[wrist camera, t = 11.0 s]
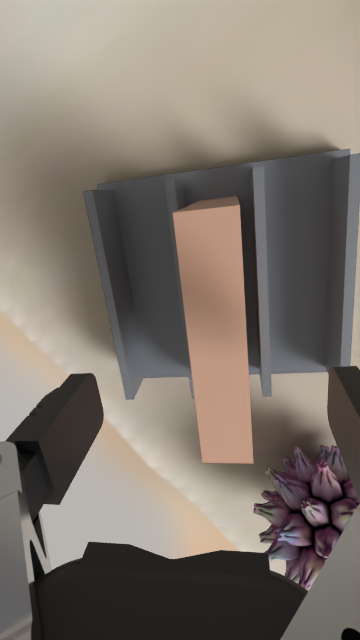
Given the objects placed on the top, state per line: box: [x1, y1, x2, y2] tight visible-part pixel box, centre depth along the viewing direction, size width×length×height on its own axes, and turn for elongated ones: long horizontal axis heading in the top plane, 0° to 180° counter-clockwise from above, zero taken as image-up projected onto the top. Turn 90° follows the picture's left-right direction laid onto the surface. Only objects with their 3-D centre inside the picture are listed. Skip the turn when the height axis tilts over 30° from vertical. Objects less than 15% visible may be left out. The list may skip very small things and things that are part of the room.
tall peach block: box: [173, 196, 253, 464], centre depth 20 cm, size 12×2×12 cm, turn 7°
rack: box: [83, 149, 360, 400], centre depth 25 cm, size 16×17×6 cm
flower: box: [254, 445, 360, 590], centre depth 27 cm, size 12×12×12 cm
